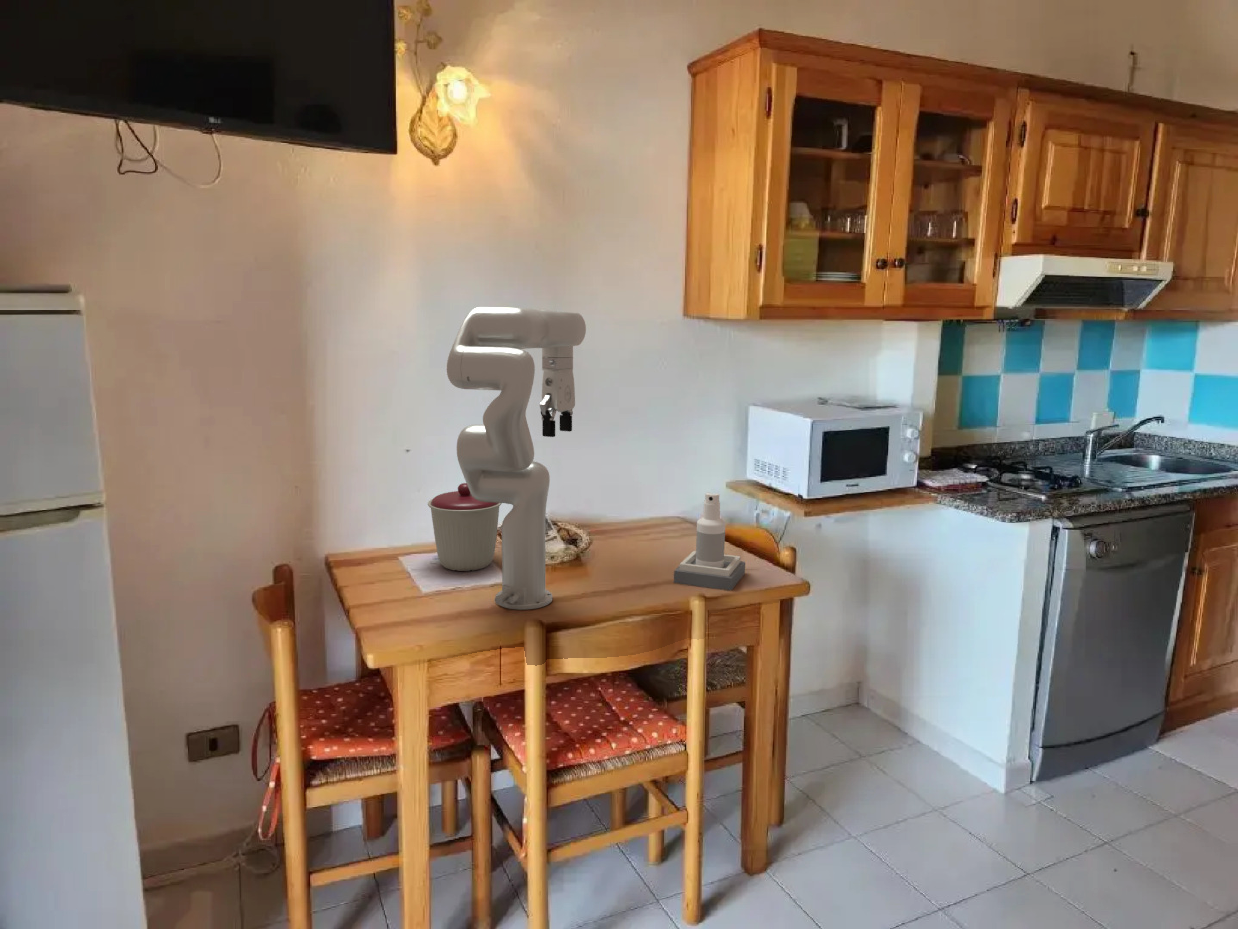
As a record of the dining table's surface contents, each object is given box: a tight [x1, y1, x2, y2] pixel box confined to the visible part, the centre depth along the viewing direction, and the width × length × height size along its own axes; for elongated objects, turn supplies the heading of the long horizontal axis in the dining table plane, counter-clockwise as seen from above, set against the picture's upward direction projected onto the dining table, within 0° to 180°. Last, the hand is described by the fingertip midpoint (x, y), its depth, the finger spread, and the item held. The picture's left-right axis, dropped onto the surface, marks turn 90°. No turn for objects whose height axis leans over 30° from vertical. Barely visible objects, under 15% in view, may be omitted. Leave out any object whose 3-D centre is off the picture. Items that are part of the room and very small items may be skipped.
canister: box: [427, 482, 503, 572], centre depth 211 cm, size 18×18×21 cm
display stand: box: [673, 550, 746, 591], centre depth 206 cm, size 14×14×4 cm
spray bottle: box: [695, 492, 726, 568], centre depth 204 cm, size 7×7×18 cm
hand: (557, 433), depth 210 cm, fingers open, 9 cm apart
